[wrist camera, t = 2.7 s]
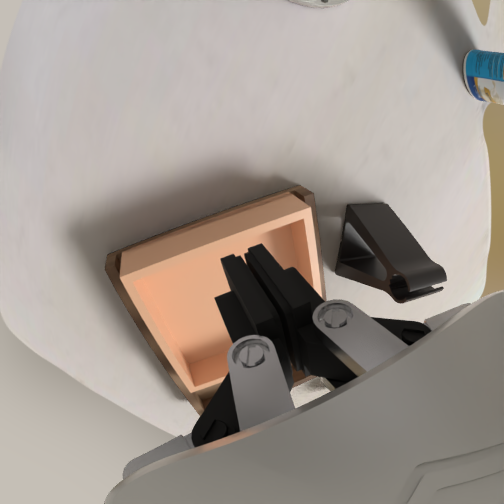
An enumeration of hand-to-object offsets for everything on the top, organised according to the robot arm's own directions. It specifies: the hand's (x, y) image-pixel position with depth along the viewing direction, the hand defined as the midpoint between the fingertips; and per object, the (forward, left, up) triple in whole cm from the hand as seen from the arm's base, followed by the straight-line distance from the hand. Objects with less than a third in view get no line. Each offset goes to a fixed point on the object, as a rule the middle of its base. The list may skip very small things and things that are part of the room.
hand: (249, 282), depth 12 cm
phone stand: (+13, +17, -18) cm, 28 cm away
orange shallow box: (+12, 0, -17) cm, 21 cm away
